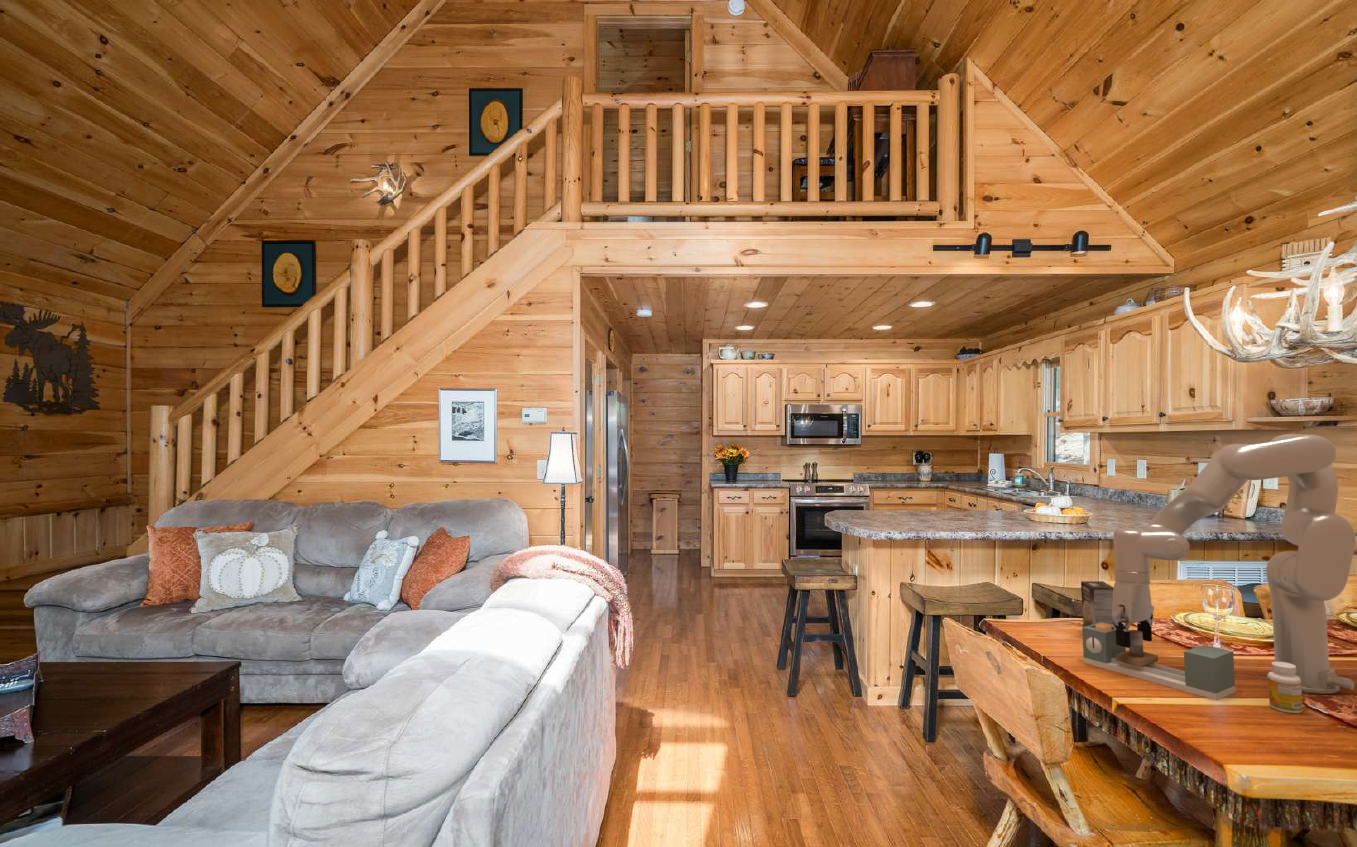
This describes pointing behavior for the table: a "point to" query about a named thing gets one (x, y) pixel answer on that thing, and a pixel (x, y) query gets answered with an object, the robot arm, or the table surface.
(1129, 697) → the table surface
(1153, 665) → the rail track
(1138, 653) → the carriage
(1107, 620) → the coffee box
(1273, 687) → the supplement bottle
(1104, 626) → the button
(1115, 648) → the far cabinet
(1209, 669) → the near cabinet
